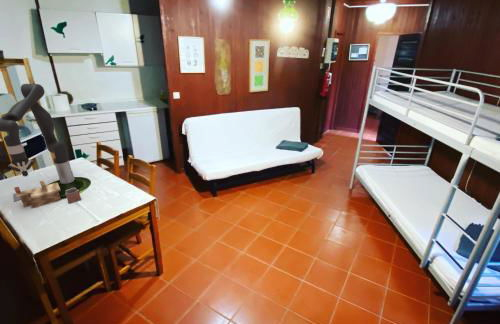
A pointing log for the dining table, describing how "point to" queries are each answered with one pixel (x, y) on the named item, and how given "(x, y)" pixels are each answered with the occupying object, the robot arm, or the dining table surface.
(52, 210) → the dining table surface
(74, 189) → the lighter
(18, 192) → the wooden block with peg
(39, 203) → the toolbox
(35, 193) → the lid
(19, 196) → the mat
